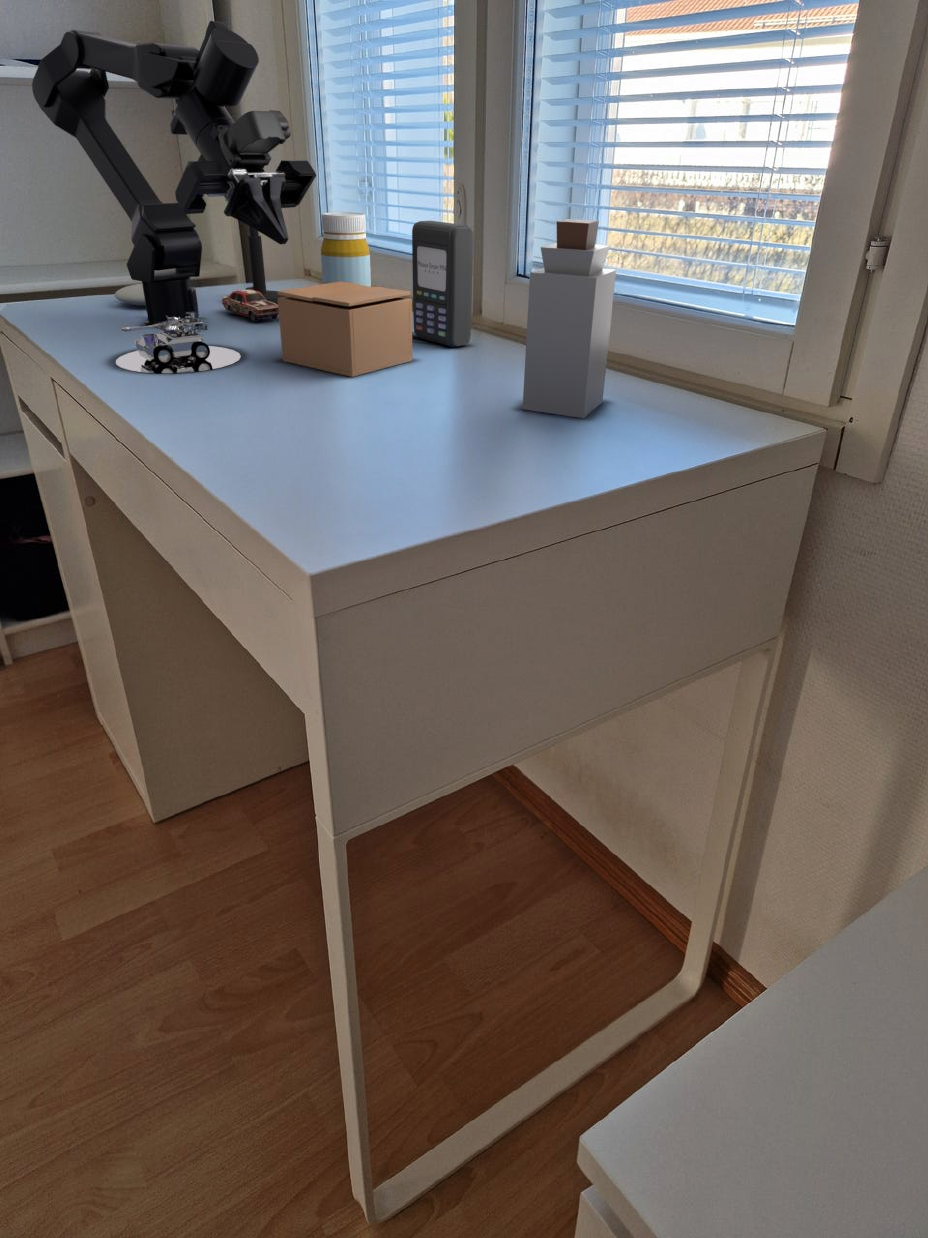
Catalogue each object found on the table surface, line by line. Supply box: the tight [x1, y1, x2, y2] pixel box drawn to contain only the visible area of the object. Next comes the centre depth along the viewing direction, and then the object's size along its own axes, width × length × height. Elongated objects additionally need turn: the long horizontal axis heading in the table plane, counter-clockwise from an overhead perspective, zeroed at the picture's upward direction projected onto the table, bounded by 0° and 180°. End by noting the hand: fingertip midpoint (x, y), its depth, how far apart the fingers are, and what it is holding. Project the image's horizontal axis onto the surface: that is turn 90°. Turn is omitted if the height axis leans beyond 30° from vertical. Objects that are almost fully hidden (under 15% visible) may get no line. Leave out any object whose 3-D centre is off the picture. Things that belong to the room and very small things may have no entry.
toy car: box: [115, 311, 241, 374], centre depth 104 cm, size 15×15×5 cm
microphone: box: [174, 99, 287, 305], centre depth 138 cm, size 12×23×30 cm, turn 28°
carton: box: [278, 286, 413, 378], centre depth 103 cm, size 12×11×8 cm
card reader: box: [411, 220, 475, 348], centre depth 113 cm, size 9×4×15 cm, turn 41°
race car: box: [221, 289, 279, 323], centre depth 128 cm, size 5×12×5 cm, turn 35°
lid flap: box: [277, 281, 369, 301], centre depth 103 cm, size 6×11×1 cm, turn 143°
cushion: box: [114, 283, 146, 307], centre depth 136 cm, size 12×12×3 cm
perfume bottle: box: [522, 218, 617, 419], centre depth 85 cm, size 7×7×18 cm
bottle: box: [320, 211, 372, 287], centre depth 122 cm, size 7×7×15 cm
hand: (284, 241), depth 104 cm, fingers closed
